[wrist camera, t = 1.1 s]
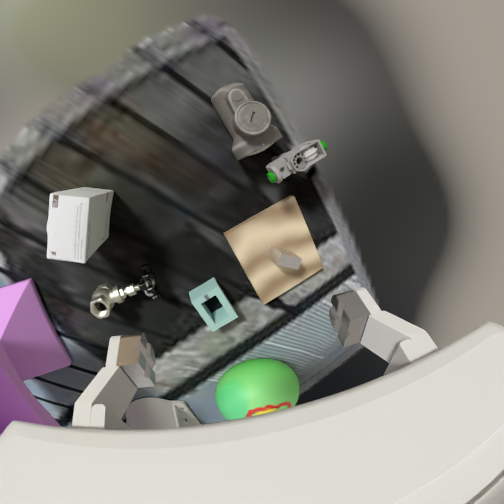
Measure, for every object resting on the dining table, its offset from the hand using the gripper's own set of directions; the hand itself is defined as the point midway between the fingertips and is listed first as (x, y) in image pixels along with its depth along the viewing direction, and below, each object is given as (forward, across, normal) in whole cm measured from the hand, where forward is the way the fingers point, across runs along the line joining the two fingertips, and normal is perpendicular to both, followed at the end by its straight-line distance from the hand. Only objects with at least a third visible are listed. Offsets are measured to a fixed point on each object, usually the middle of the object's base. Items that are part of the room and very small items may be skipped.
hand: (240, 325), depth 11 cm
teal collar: (+31, -3, -28) cm, 42 cm away
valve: (+31, -18, -21) cm, 42 cm away
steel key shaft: (+33, +10, -21) cm, 40 cm away
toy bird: (+26, +1, -49) cm, 55 cm away
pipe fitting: (+40, +6, +2) cm, 41 cm away
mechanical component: (+39, +12, -6) cm, 41 cm away
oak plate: (+34, +10, -22) cm, 42 cm away
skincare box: (+35, -20, -7) cm, 40 cm away
